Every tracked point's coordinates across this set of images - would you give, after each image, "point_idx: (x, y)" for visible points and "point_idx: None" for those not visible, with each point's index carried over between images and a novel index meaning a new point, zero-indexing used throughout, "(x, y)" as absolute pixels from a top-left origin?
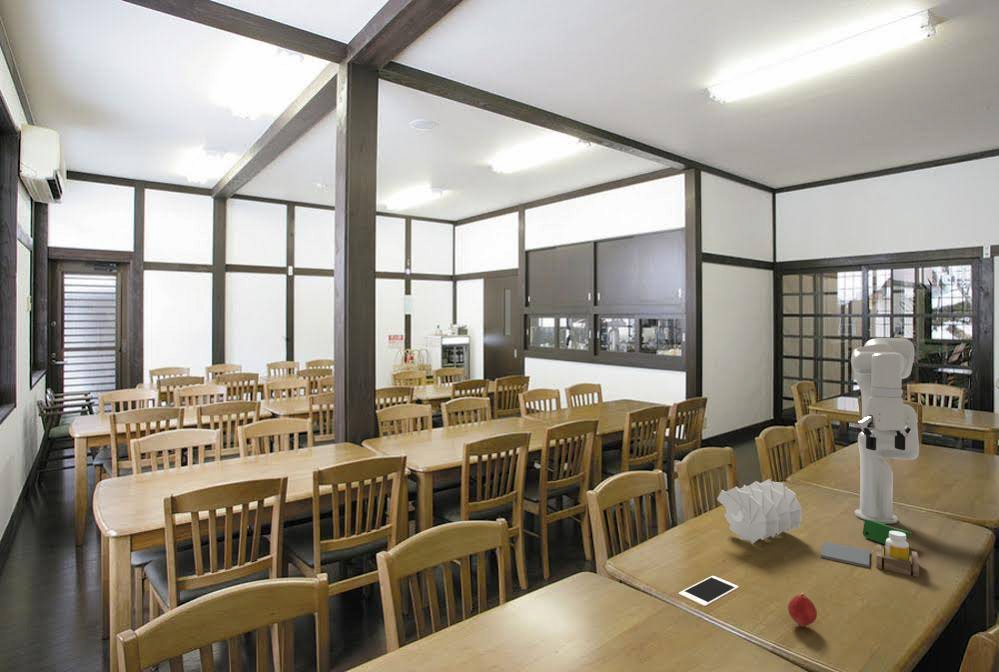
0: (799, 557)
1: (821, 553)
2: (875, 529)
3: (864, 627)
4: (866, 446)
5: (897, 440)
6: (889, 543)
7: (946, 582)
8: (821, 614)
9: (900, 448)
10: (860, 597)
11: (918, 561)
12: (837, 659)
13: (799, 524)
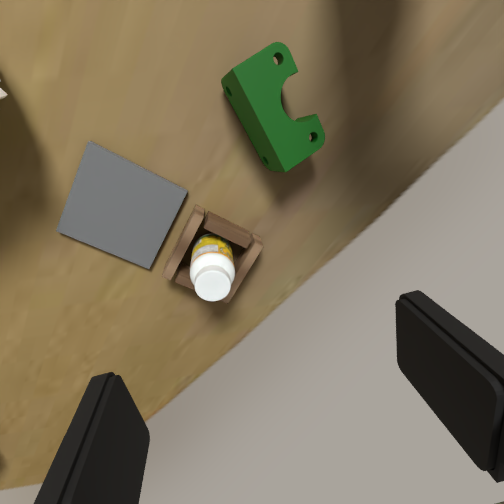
0: (7, 233)
1: (60, 222)
2: (245, 108)
3: (64, 431)
4: (90, 393)
5: (451, 380)
6: (191, 280)
7: (262, 302)
8: (11, 416)
9: (401, 353)
10: (88, 367)
11: (235, 290)
12: (11, 484)
13: (2, 97)
